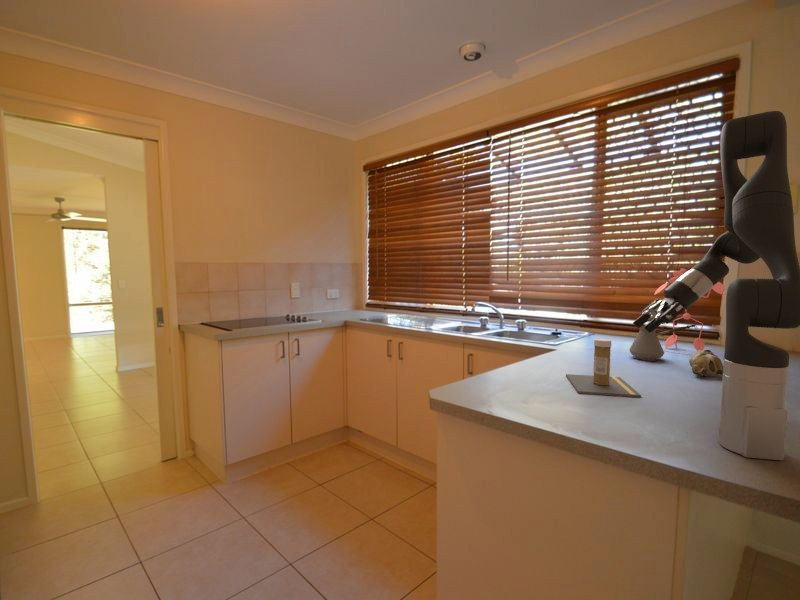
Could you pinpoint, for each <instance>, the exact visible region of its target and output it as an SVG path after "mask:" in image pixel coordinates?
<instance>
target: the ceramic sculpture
mask: <svg viewBox="0 0 800 600" xmlns="http://www.w3.org/2000/svg"><path fill="white" fill-rule="evenodd" d="M688 361H689V362H688V363H689V365H690V368H691V371H692V373H693V374H694V375H696V376H703V377H704V376H705V377H716V376H718V375H720V376H721V377H723V366H724V363H723V362H722V360H721V358H719V357H718V356H717V355H716V354H715V353H714V352H713V351H712V350H710V349H705V350H704V349H703V350H701V349H699V350H698V351H697V350H696V351H695V352H694V353H693V354H691V355H690V358H689V360H688Z"/></svg>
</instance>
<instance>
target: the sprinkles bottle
mask: <svg viewBox="0 0 800 600" xmlns="http://www.w3.org/2000/svg"><path fill="white" fill-rule="evenodd" d="M593 345H594V346H593V347H594V349H593V350H594V354H593V376H594V377H593V383H594V384H597V385H602V386H606V385H609V384H610V382H609V377H611V375H610V374H611V348H612V340H611V339H608V338H594V339H593Z"/></svg>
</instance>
